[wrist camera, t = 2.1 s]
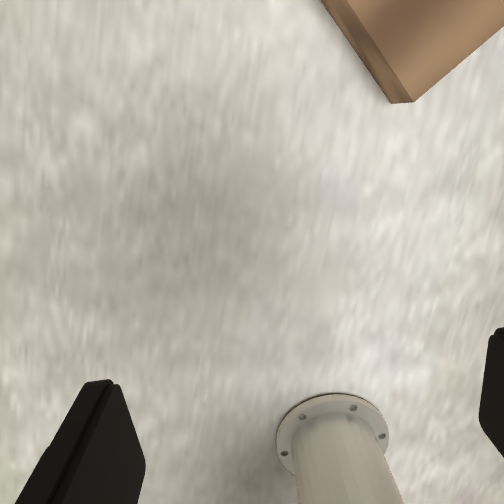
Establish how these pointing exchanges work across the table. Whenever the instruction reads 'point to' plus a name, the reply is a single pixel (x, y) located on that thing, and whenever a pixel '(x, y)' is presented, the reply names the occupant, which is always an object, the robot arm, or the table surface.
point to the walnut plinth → (414, 38)
